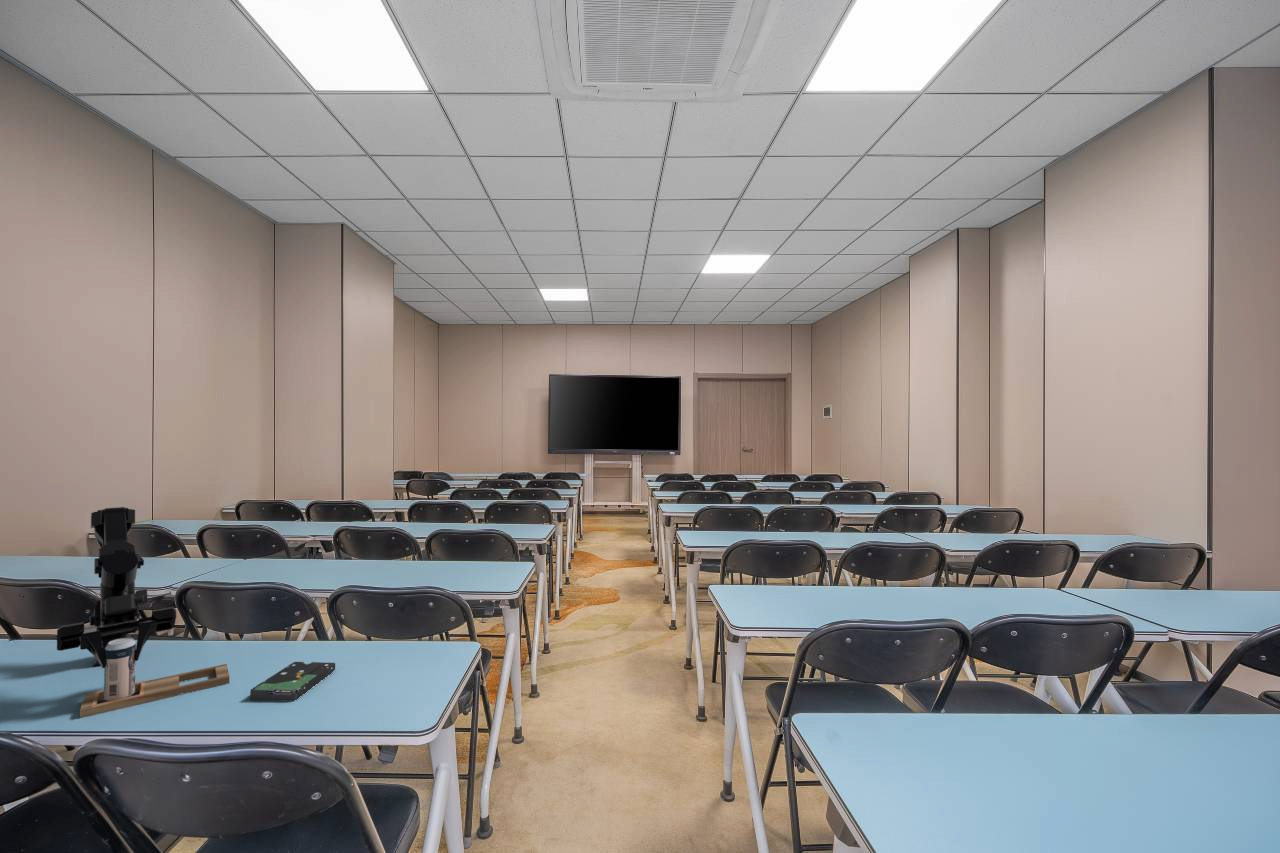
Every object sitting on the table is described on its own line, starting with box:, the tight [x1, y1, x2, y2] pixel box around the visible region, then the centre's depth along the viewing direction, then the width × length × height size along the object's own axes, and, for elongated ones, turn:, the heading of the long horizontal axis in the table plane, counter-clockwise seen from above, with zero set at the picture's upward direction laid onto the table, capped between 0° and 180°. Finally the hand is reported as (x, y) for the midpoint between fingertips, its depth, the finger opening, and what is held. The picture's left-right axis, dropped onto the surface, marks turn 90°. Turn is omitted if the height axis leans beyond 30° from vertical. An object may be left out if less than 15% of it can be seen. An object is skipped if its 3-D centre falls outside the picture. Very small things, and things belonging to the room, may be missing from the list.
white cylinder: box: [103, 637, 137, 702], centre depth 117 cm, size 5×5×12 cm
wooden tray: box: [79, 663, 230, 719], centre depth 121 cm, size 9×24×2 cm, turn 130°
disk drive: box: [249, 661, 336, 702], centre depth 125 cm, size 10×3×15 cm
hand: (120, 663), depth 116 cm, fingers closed on white cylinder, 5 cm apart
